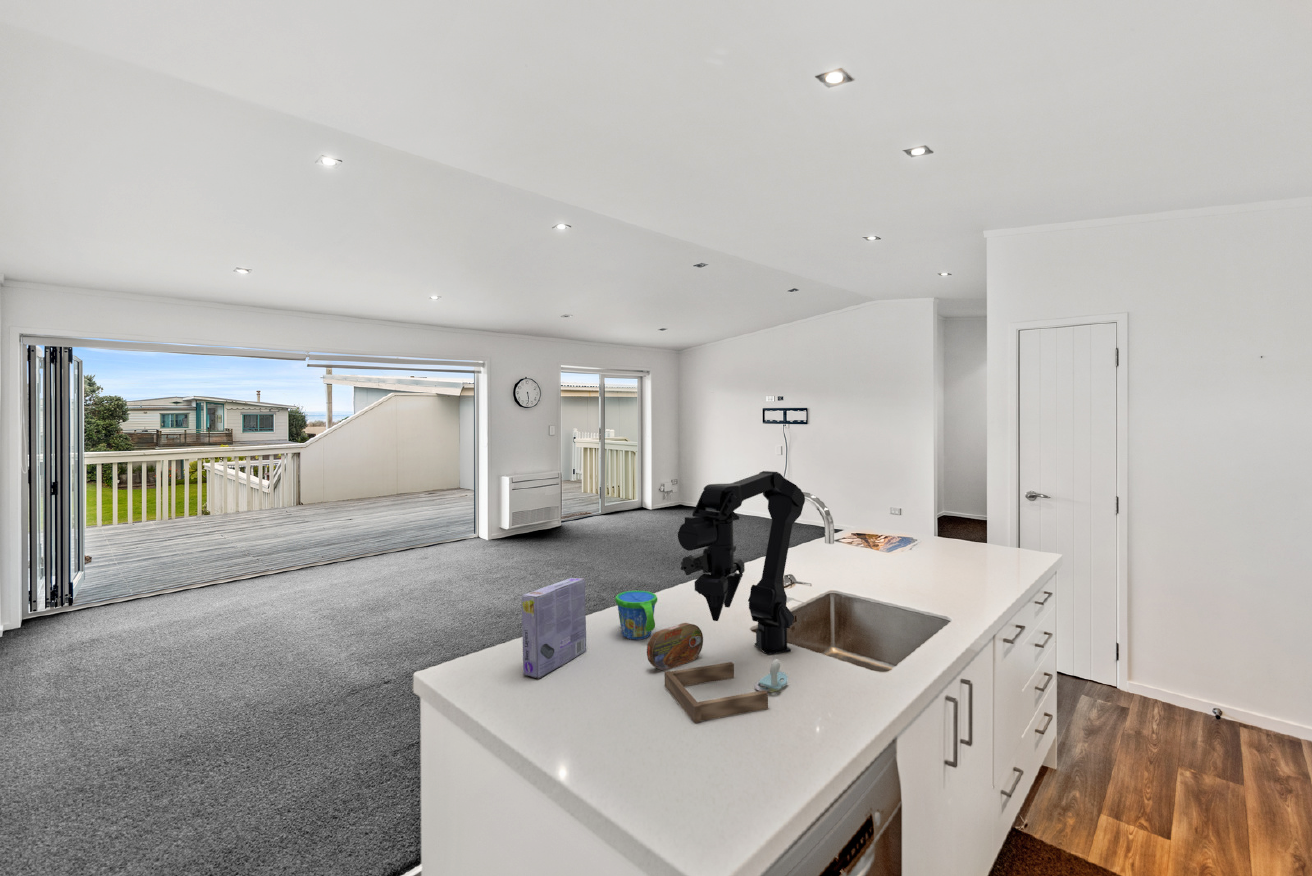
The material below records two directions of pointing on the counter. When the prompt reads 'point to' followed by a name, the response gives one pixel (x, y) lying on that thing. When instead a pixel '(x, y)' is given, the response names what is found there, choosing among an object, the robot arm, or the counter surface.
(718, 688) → the counter surface
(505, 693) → the counter surface
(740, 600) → the counter surface
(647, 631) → the snack cup
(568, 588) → the cake pan box
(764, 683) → the pacifier
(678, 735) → the counter surface
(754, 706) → the walnut bay
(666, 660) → the tin
